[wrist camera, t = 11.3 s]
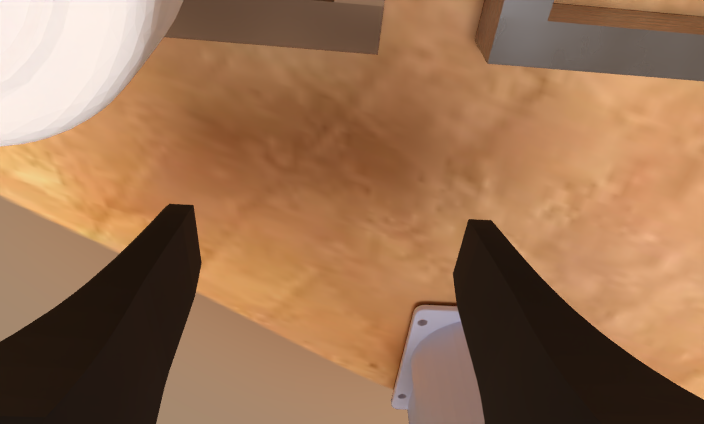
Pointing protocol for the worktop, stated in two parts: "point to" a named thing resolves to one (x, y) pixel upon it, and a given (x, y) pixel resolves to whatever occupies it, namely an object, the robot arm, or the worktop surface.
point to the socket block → (591, 39)
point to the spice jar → (71, 59)
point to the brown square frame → (284, 23)
